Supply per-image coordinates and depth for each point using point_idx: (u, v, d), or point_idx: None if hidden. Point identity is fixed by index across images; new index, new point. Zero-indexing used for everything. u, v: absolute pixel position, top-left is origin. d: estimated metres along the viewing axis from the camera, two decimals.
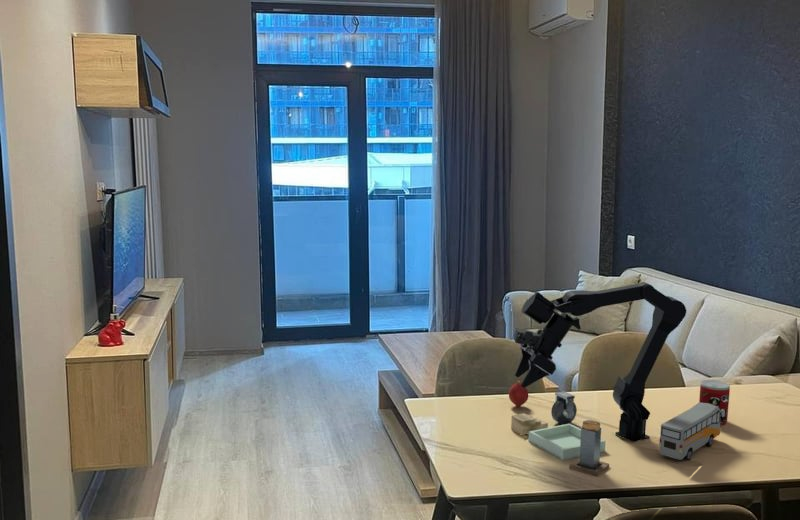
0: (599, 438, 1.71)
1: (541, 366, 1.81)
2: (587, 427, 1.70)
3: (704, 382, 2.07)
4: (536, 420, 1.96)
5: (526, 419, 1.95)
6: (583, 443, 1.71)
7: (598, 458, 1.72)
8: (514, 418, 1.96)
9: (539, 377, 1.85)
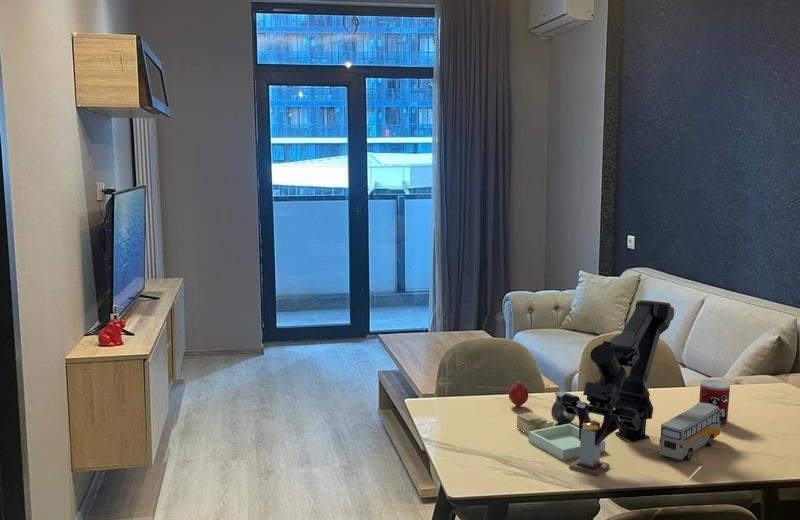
0: None
1: (636, 421, 1.68)
2: (587, 427, 1.70)
3: (704, 382, 2.07)
4: (542, 419, 1.97)
5: (532, 418, 1.95)
6: (583, 443, 1.71)
7: (598, 458, 1.72)
8: (520, 417, 1.97)
9: (610, 432, 1.71)
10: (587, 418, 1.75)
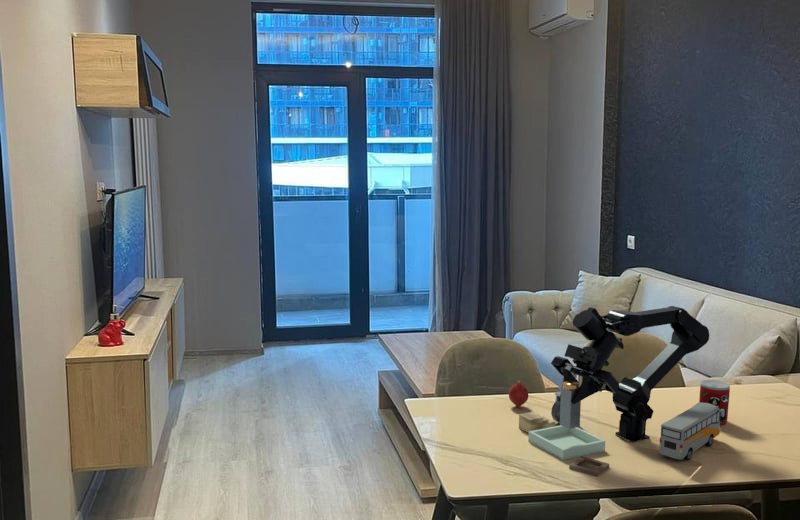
0: None
1: (610, 384, 1.75)
2: (565, 386, 1.80)
3: (704, 382, 2.07)
4: (543, 419, 1.98)
5: (534, 418, 1.96)
6: (562, 401, 1.81)
7: (577, 417, 1.81)
8: (522, 417, 1.97)
9: (590, 393, 1.80)
10: (573, 379, 1.85)
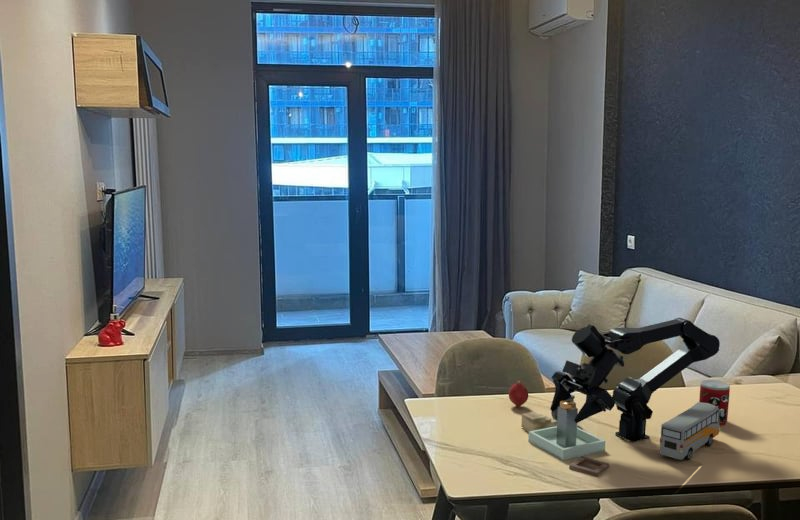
0: (574, 418, 1.84)
1: (605, 401, 1.77)
2: (561, 405, 1.83)
3: (704, 382, 2.07)
4: (546, 418, 1.98)
5: (536, 417, 1.96)
6: (559, 420, 1.85)
7: (573, 436, 1.84)
8: (524, 416, 1.98)
9: (594, 412, 1.80)
10: (564, 392, 1.90)
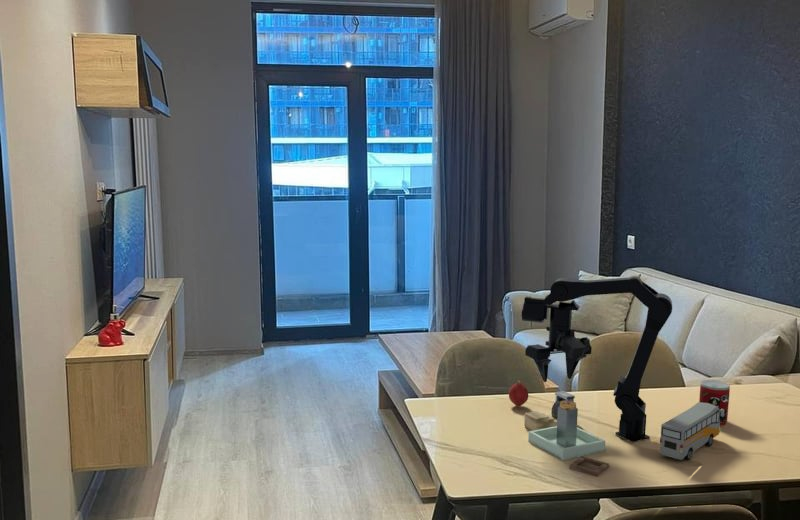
0: (574, 418, 1.84)
1: None
2: (561, 405, 1.83)
3: (704, 382, 2.07)
4: (549, 418, 1.98)
5: (539, 417, 1.97)
6: (559, 420, 1.85)
7: (573, 436, 1.84)
8: (527, 416, 1.98)
9: None
10: None
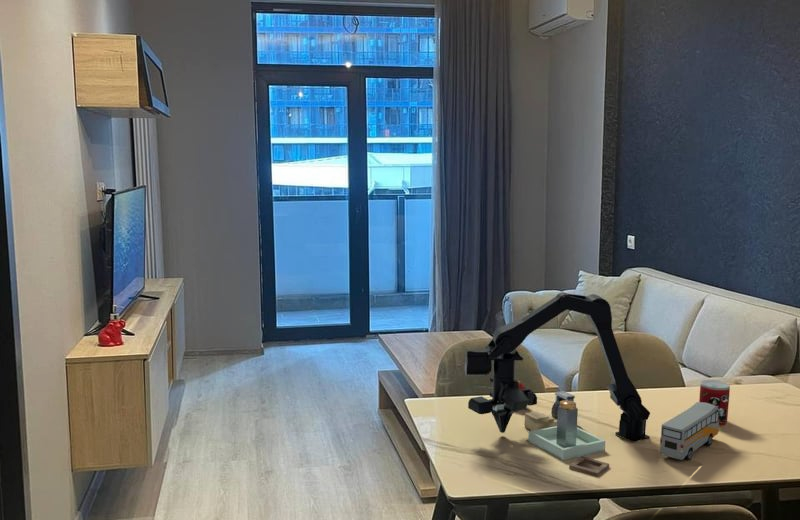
0: (574, 418, 1.84)
1: None
2: (561, 405, 1.83)
3: (704, 382, 2.07)
4: (549, 418, 1.98)
5: (539, 417, 1.96)
6: (559, 420, 1.85)
7: (573, 436, 1.84)
8: (527, 416, 1.98)
9: None
10: None
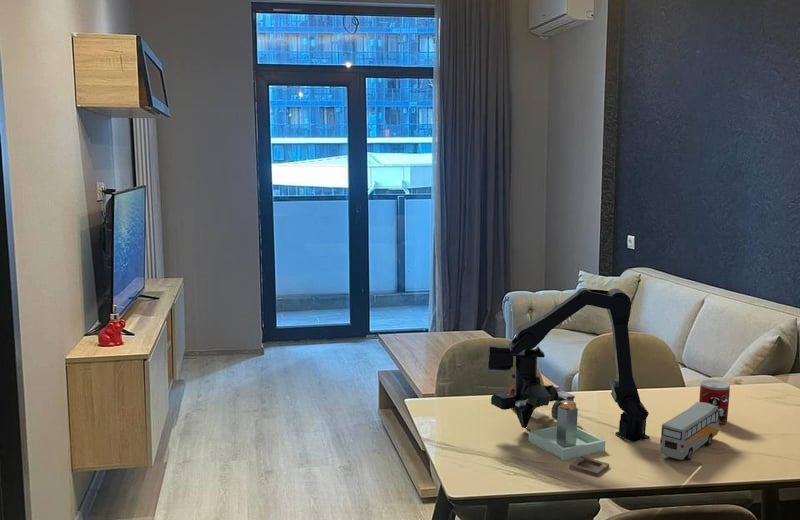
0: (574, 418, 1.84)
1: None
2: (561, 405, 1.83)
3: (704, 382, 2.07)
4: (549, 418, 1.98)
5: (539, 417, 1.96)
6: (559, 420, 1.85)
7: (573, 436, 1.84)
8: None
9: None
10: None
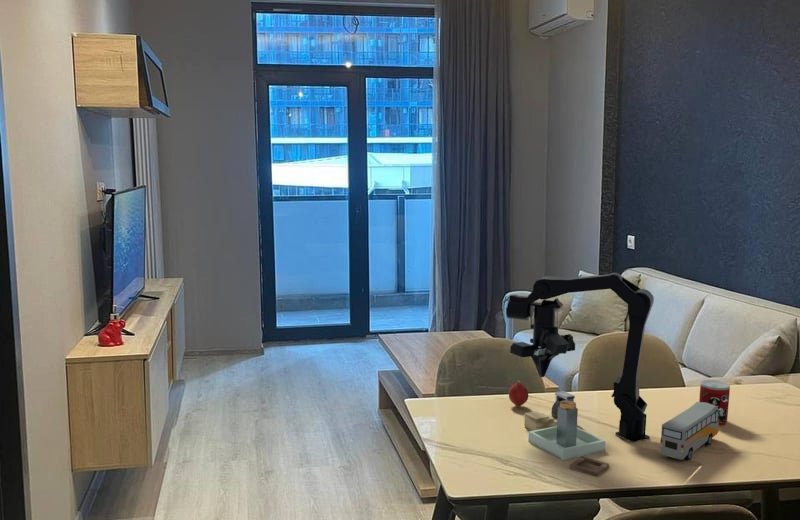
0: (574, 418, 1.84)
1: None
2: (561, 405, 1.83)
3: (704, 382, 2.07)
4: (549, 418, 1.98)
5: (539, 417, 1.97)
6: (559, 420, 1.85)
7: (573, 436, 1.84)
8: (527, 416, 1.98)
9: None
10: None
